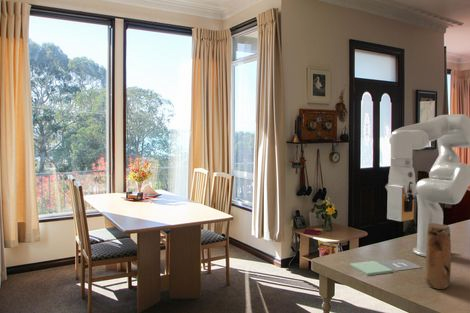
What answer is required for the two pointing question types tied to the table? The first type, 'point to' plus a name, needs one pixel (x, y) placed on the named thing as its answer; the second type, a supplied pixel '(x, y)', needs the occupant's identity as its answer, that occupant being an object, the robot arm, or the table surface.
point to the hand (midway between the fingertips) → (400, 209)
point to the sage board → (371, 268)
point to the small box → (397, 204)
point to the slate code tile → (399, 265)
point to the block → (438, 256)
